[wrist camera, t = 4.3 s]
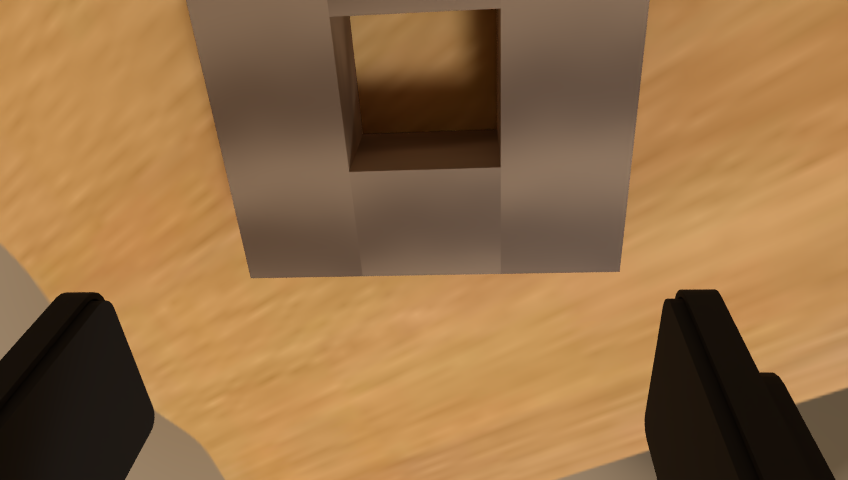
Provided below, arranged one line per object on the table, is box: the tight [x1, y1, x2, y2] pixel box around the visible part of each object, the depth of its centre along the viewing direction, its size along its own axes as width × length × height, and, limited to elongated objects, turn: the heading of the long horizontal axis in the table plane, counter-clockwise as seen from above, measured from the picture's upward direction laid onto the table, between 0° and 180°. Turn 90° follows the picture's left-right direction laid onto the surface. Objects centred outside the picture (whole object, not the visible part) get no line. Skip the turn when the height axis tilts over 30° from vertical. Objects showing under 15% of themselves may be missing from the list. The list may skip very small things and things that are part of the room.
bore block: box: [186, 0, 649, 278], centre depth 26 cm, size 16×16×4 cm
